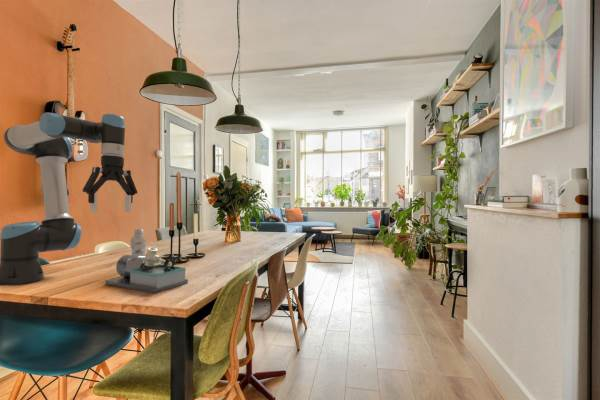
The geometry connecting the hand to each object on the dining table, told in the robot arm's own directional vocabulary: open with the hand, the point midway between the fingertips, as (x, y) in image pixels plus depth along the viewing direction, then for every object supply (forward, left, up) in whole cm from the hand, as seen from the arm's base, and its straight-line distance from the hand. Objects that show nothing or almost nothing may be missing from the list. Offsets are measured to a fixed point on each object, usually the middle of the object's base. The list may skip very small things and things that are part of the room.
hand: (111, 212), depth 121 cm
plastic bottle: (-12, +22, -29) cm, 38 cm away
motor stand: (+7, +11, -29) cm, 32 cm away
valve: (+12, +11, -22) cm, 27 cm away
